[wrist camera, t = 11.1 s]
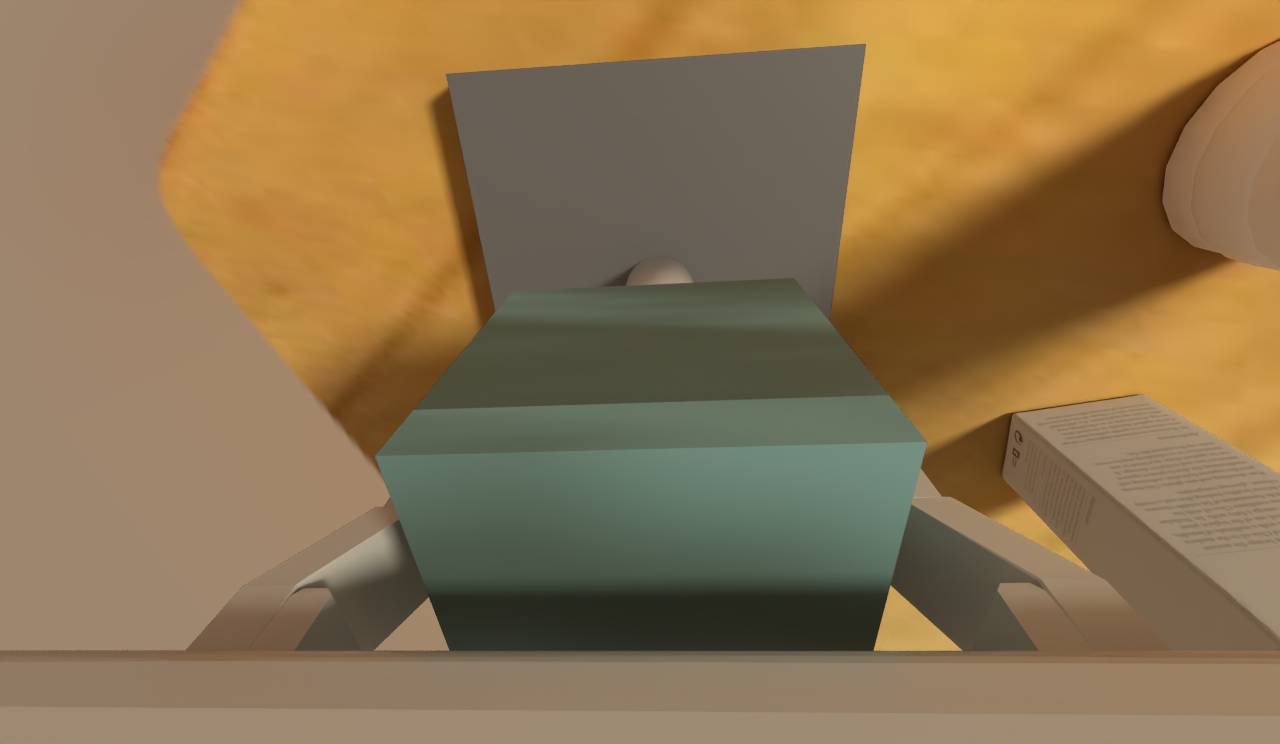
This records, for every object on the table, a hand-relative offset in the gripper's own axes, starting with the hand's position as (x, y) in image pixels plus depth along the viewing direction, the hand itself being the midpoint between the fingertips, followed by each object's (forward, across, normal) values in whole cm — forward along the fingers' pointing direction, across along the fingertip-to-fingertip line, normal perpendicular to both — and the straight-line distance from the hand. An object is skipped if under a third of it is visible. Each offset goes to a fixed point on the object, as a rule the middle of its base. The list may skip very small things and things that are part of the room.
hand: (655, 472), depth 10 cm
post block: (+13, 0, 0) cm, 13 cm away
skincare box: (+13, -20, +9) cm, 26 cm away
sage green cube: (+3, 0, 0) cm, 3 cm away
